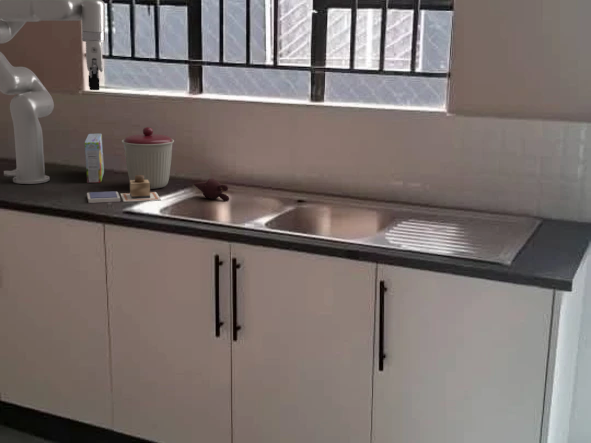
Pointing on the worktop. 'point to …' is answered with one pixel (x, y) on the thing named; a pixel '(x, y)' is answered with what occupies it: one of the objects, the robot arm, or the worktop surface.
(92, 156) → the snack box
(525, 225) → the worktop surface
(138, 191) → the stamp
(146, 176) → the canister
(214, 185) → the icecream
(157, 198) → the marked card
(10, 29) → the robot arm
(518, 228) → the worktop surface
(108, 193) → the ink pad
